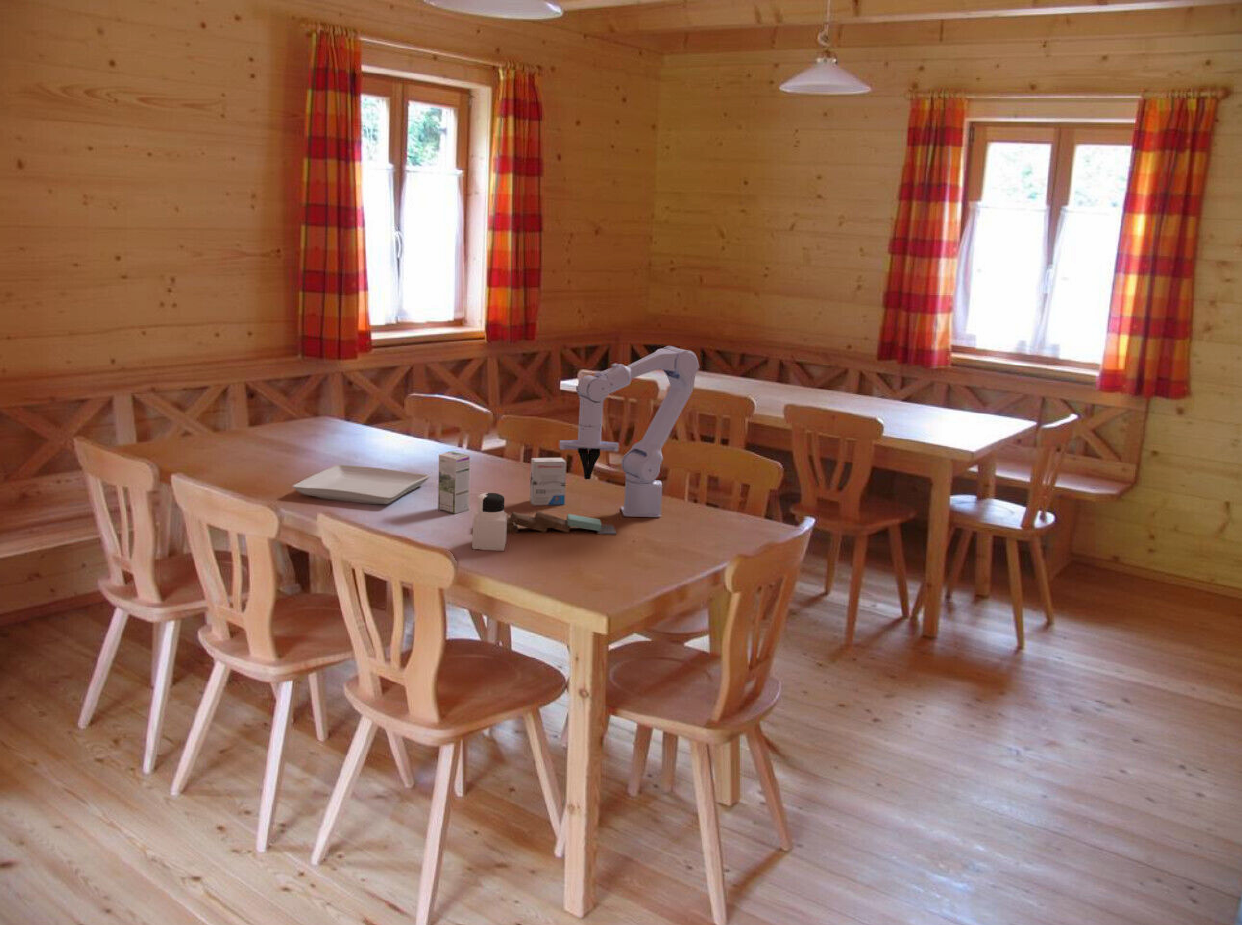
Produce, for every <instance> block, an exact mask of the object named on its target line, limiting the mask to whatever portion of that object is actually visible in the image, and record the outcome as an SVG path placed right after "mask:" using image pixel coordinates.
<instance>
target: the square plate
mask: <svg viewBox="0 0 1242 925" xmlns="http://www.w3.org/2000/svg"><path fill="white" fill-rule="evenodd" d="M430 477H431V475H429V474H424V473H423V474H422V473H415V472H409V471H403V470H396V469H390V468H389V469H387V468H382V467H373V466H372V467H371V466H361V465H348V464H347V465H346V464H345V465H344V464H337V465H334V466H332V467H330V468H327V469H325V470H322V471H320V472H318V473H315V474H313V475H311V476H309V477H307V478H305V479H303V480H301V481H299V482H298V483H295V484H293V485H292V486H291V488H293V489H295V491H296V492H298V493H300V494H302V495H304V496H305V495H306V496H312V497H316V498H319V499H325V500H335V501H342V502H343V501H344V502H352V503H359V504H369V505H388V504H390V503H392V502H394V501H396V500H397V499H398V498H400V497H402V496H404V495H405V494H407V493H409V492H411V491H413V490H415V489H417V488H418V487H420V486H421V485H423V484H424V483H426V482H427V480H429V479H430Z"/></svg>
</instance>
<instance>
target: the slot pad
mask: <svg viewBox="0 0 1242 925" xmlns="http://www.w3.org/2000/svg"><path fill="white" fill-rule="evenodd" d="M596 533H597V535H605V536H607V535H608V536H609V535H611V536H612V535H613V536H616V535H617V531H616V529H615V526H614V524H602V526H601V530H600V531H596Z"/></svg>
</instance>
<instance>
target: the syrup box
mask: <svg viewBox="0 0 1242 925" xmlns="http://www.w3.org/2000/svg"><path fill="white" fill-rule="evenodd" d="M470 465H471V456H470V454H469V453H468V454H467V453H462V452H457V451H446V452H443V453H440V454H438V484H437V488H438V490H437V491H438V496H437V499H438V500H437V503H438V504H437V509H438V510H439V511H443V512H446V513H450V514H459V513H463V512H467V511H469V510H470V470H471V468H470V467H471V466H470Z"/></svg>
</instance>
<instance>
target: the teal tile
mask: <svg viewBox="0 0 1242 925" xmlns="http://www.w3.org/2000/svg"><path fill="white" fill-rule="evenodd" d="M566 516H567V517H566V520H567V525H568V526H571V527H573V528H580V529H584V530H585V529H586V530H591V531H596V532H597V531H600V530H601V526H602V525H603V524H602V522H601V519H599V518H594V517H588V516H582V515H578V514H577V515H576V514H571V513H567V515H566Z"/></svg>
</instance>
